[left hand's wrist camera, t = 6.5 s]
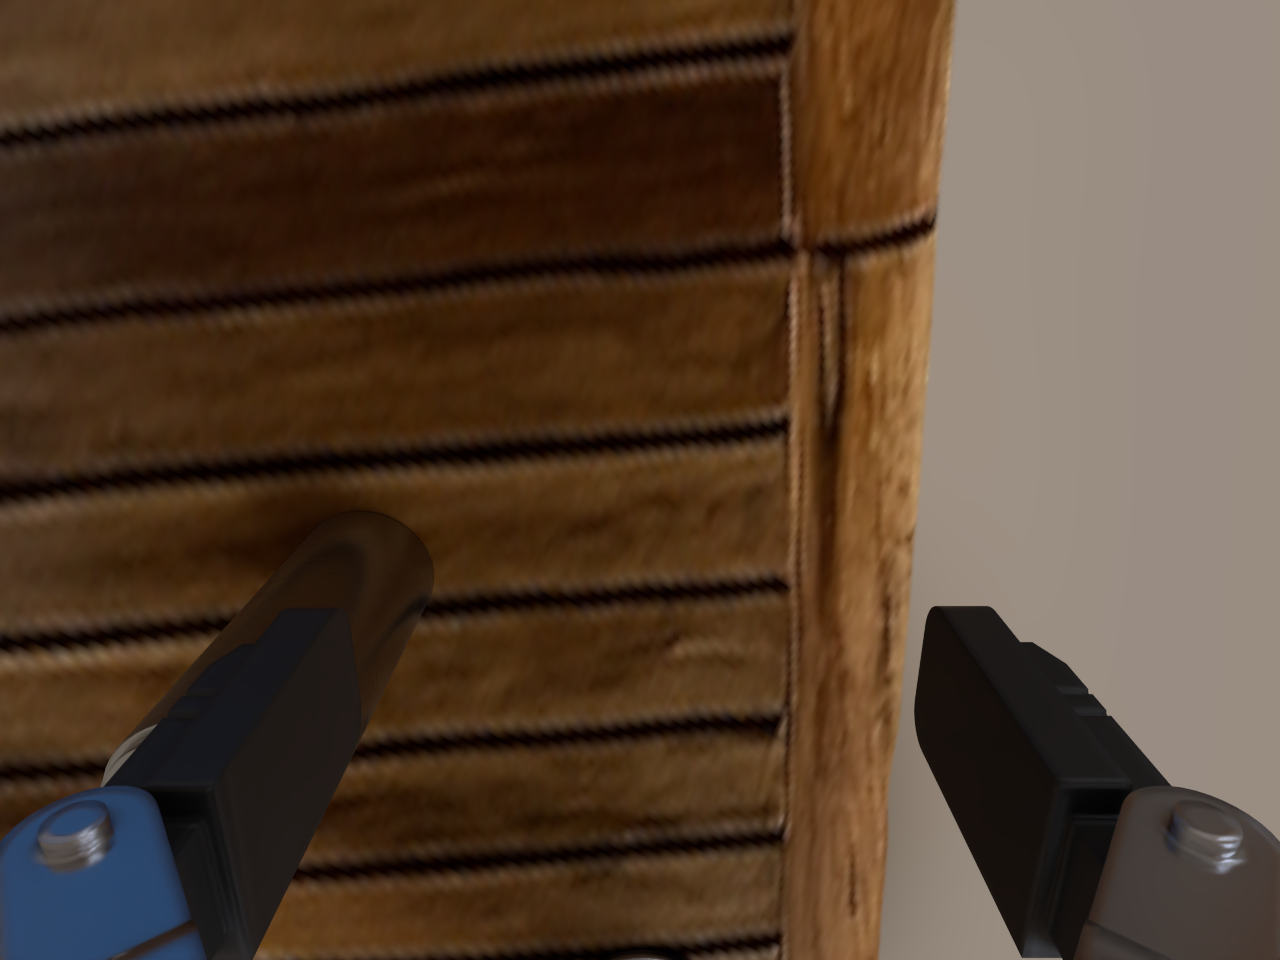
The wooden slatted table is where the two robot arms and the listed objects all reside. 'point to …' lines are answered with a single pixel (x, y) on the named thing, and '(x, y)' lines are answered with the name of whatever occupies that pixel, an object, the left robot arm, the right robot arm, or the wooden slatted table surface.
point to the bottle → (329, 606)
